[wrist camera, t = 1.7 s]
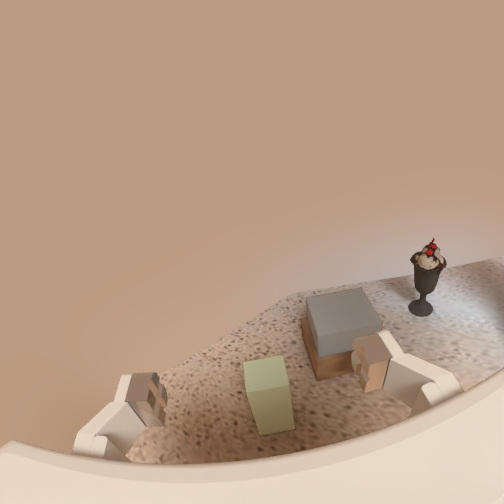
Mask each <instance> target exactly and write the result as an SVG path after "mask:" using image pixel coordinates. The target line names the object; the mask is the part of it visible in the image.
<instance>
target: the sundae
mask: <svg viewBox="0 0 504 504" xmlns="http://www.w3.org/2000/svg"><path fill="white" fill-rule="evenodd" d="M433 242H434V238H433V240H432V242H430V244H429V245H426V246H425V247H424V248H423V250H422V251H421V252H417V253H415V254H414V255H413V256H412V257H411V259H410V261H411V262H412V263H413V264H414V282H415V288H416V290H417V291H418V292H419V293H420V299H419V300H415V301H412V302H411V303H410V304H409V310H410V311H411V312H412V313H413V314H414V315H417V316H427V315H430V314H431V313H432V311H433V307H432V305H431V304H430V303H429V302H427V301H426V295H427V294H429V293H431V292H433V291H434V289H435V287H436V285H437V282H438V278H439V275H440V272H441V270H443V268H445V267H446V265H447V264H446V260H445V259H444V257H442V256H441V255H440V249H439V248H438V247H437V246H436V244H434V243H433Z"/></svg>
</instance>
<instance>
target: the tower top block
mask: <svg viewBox="0 0 504 504" xmlns="http://www.w3.org/2000/svg"><path fill="white" fill-rule="evenodd" d="M306 306H307V318H308V322H309V325H310V329H311V332H312V336H313V339H314V343H315V346H316V350H317V354H318V357H322V356H327V355H332V354H337V353H342V352H346V351H351V350H354V348H353V346H352V344H353V340H354V339H356V338H359V337H363V336H366V335H370V334H373V333H376V332H380V331H381V330H382V321H381V319H380V318H379V316H378V314H377V312H376V311H375V309H374V307H373V306H372V304H371V302H370V301H369V299H368V297H367V296H366V294H365V293H364V291H363V289H362V288H361V287H360V288H355V289H350V290H345V291H339V292H334V293H329V294H323V295H317V296H311V297H306Z"/></svg>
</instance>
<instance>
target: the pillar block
mask: <svg viewBox="0 0 504 504" xmlns="http://www.w3.org/2000/svg"><path fill="white" fill-rule="evenodd" d="M243 368H244V378H245V388H246V394H247V397H248V401H249V404H250V407H251V410H252V413H253V416H254V419H255V422H256V425H257V429H258V432H259V435H260V436H261V435H267V434H273V433H278V432H284V431H289V430H294V429H295V425H294V416H293V408H292V399H291V391H290V384H289V380H288V376H287V372H286V368H285V364H284V360H283V355H279V356H274V357H269V358H264V359H258V360H252V361H247V362H243Z"/></svg>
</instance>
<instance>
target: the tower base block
mask: <svg viewBox="0 0 504 504" xmlns="http://www.w3.org/2000/svg"><path fill="white" fill-rule="evenodd" d="M301 323H302V336H303V340H304V343H305V346H306V349H307V352H308V355H309V358H310V361H311V364H312V367H313V370H314V373H315V376H316V379H317V381H320V380H324V379H328V378H332V377H336V376H339V375H343V374H347V373H350V372H354V369H353V366H352V360H351V356H352V352H353V351H354V350H351V351H346V352H342V353H337V354H332V355H327V356H322V357H318V354H317V350H316V346H315V343H314V339H313V336H312V332H311V329H310V325H309V322H308V318H302V319H301Z"/></svg>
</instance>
